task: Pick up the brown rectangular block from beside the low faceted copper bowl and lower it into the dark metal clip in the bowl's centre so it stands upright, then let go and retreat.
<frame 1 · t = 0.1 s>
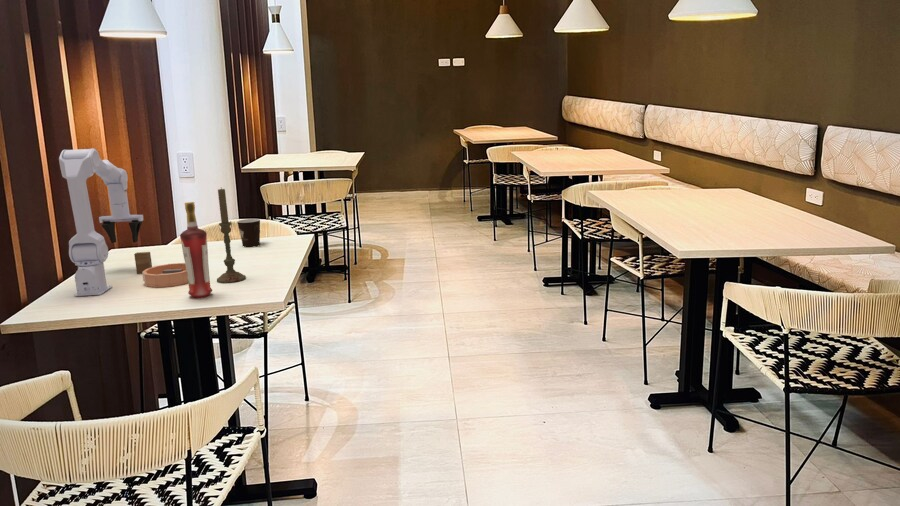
hand: (124, 242, 252), 10 cm above the table, tool pointing down, fingers open, 7 cm apart
coffee mug: (251, 246, 286), on the table
candlestick holder: (231, 280, 234), on the table
faceted copper bowl: (171, 280, 236), on the table
liquor: (200, 296, 217), on the table
brown rectangular block: (145, 272, 249), on the table
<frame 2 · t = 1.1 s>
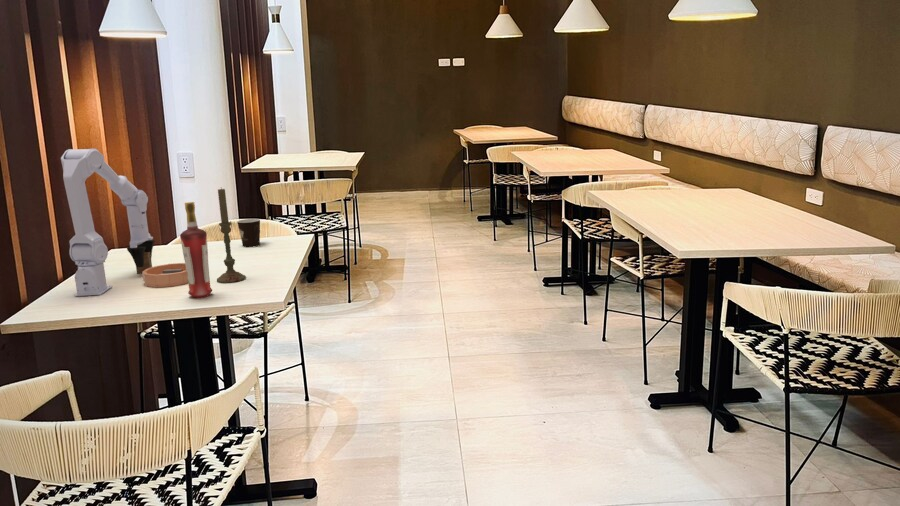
hand: (143, 264, 248), 3 cm above the table, tool pointing down, fingers open, 7 cm apart
nothing on the table moved.
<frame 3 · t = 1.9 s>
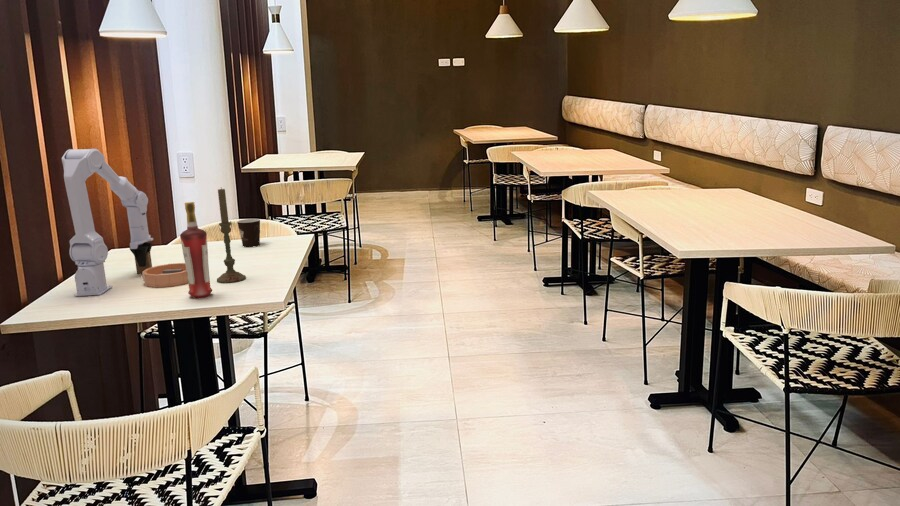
hand: (143, 265, 248), 3 cm above the table, tool pointing down, fingers closed on brown rectangular block, 2 cm apart
brown rectangular block: (145, 272, 249), on the table, touching gripper
everything else where it was.
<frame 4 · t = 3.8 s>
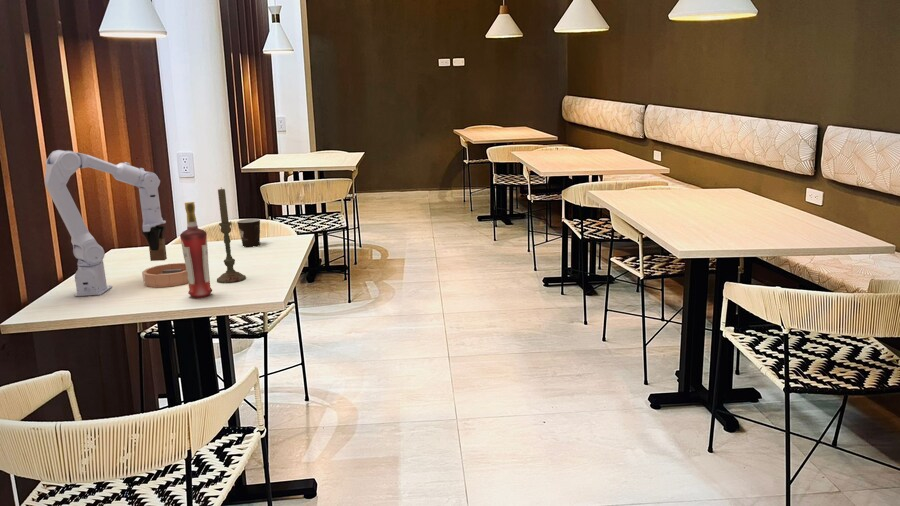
hand: (156, 249, 239), 10 cm above the table, tool pointing down, fingers closed on brown rectangular block, 2 cm apart
brown rectangular block: (158, 259, 240), point 6 cm above the table, touching gripper
everything else where it was.
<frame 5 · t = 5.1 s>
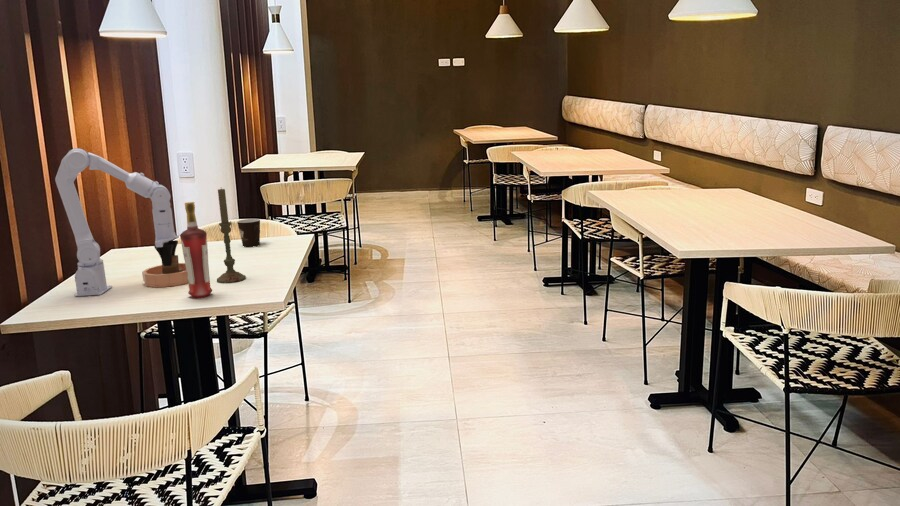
hand: (169, 264, 235), 5 cm above the table, tool pointing down, fingers closed on brown rectangular block, 2 cm apart
brown rectangular block: (171, 277, 236), point 1 cm above the table, touching gripper
everything else where it was.
when the fingers open (5 cm above the table, at t = 5.5 s): brown rectangular block stays where it is, resting on faceted copper bowl.
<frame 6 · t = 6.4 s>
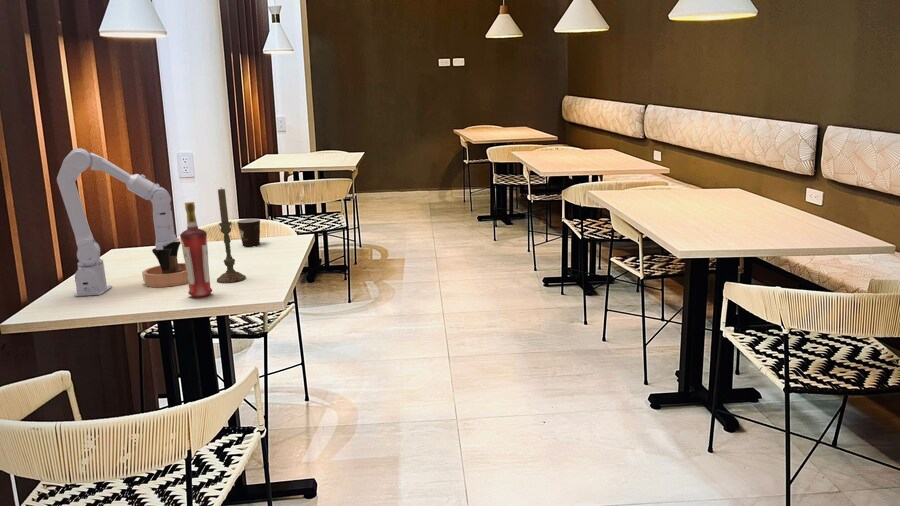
hand: (169, 267, 235), 5 cm above the table, tool pointing down, fingers open, 7 cm apart
brown rectangular block: (171, 277, 236), point 1 cm above the table, touching faceted copper bowl
everything else where it was.
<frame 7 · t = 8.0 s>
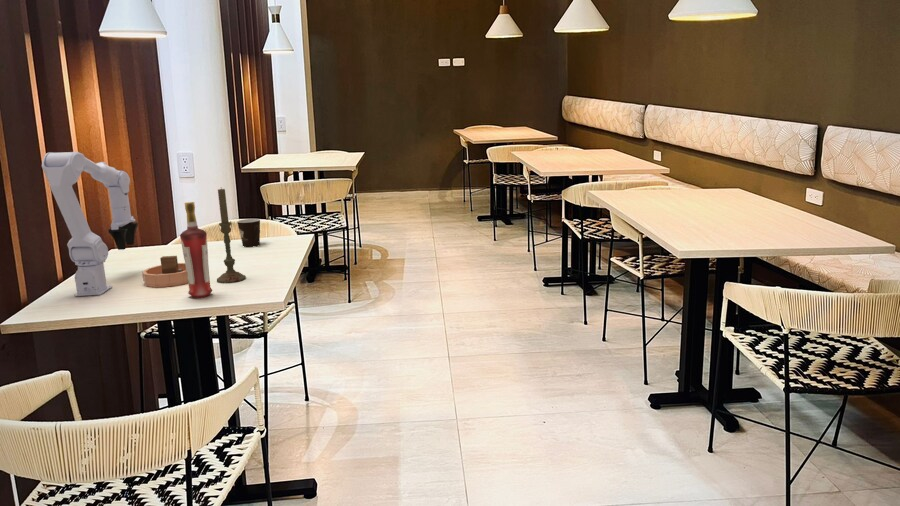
hand: (126, 247, 243), 10 cm above the table, tool pointing down, fingers open, 7 cm apart
nothing on the table moved.
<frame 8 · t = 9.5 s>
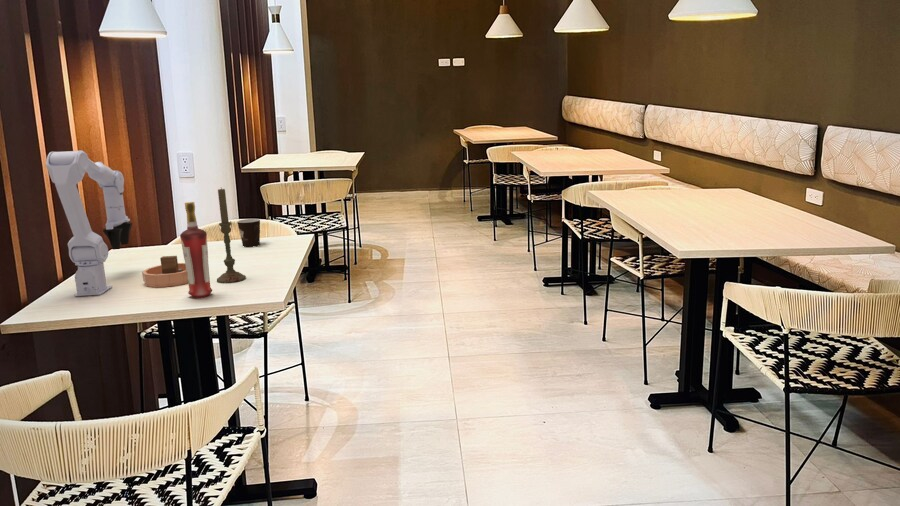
hand: (120, 246, 245), 10 cm above the table, tool pointing down, fingers open, 7 cm apart
nothing on the table moved.
at the end: brown rectangular block 0.2 cm off-centre on the faceted copper bowl, point 1.0 cm above the faceted copper bowl's base; brown rectangular block tilted 0°; the gripper is holding nothing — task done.
